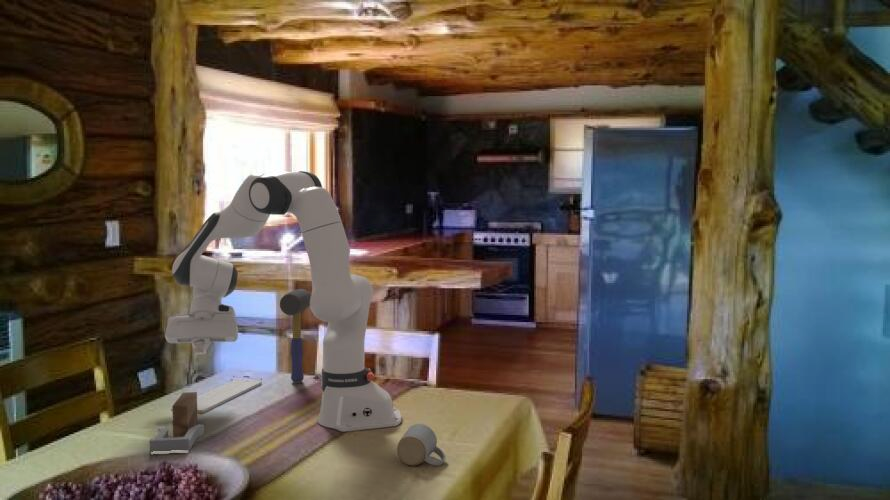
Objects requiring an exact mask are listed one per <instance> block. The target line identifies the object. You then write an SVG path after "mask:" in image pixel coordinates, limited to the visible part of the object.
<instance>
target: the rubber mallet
mask: <svg viewBox="0 0 890 500" xmlns="http://www.w3.org/2000/svg"><path fill="white" fill-rule="evenodd" d="M310 298H311V293H310V292H309V291H308V290H306V289H304V288H299V289H294V290H291V291H289V292H287V293H286V294H284V295H283V296H282V297H281V298H280V301H279V307H280V308H279V309H280V311H281V312H282V313H283V314H286V315H287V316H292V338H291V342H290V345H291V346H290V354H291V355H290V357H291V374H290V375H291V376H290V380H291V381H292V382H293V383H294V384H301V383H302V382H303V380H304V379H305V376H304V373H303V357H304V350H303V349H304V348H303V347H304V345H303V340H302V332H301V331H302V328H301V326H302V325H301V313H302V312H305V311H306V310H308V308H309V307H310Z"/></svg>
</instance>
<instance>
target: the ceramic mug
mask: <svg viewBox="0 0 890 500" xmlns="http://www.w3.org/2000/svg"><path fill="white" fill-rule="evenodd" d="M437 439H438V438H437V436H436V433H435V432H434V430H433V429H432V428H431V427H429V426H428V425H426V424H423V423H415V424H412V425H411V426H410V427H409V428H408V429H407V430H406V431H405V433H403V436H401V438H400V439H399V441H398V444H397V447H396V451H397V456H398V457H399V459H400V461H401V462H402V463H404V464H406V465H407V466H411V467H416V466H418V465H421V464H422V463H424V462H425V463H428V464H429V465H432V466H434V467H438V466H439V467H440V466H442V465H443V464H444V462H445V461H446V456H447V455H446V453H444V451H443V450H442V449H441V448H440V447H438V446H437V445H438V440H437ZM432 453H434V454H436V455H437V456H438V457H439V458H440V459H435V458H433V457H431V456H430V455H431V454H432Z"/></svg>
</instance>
